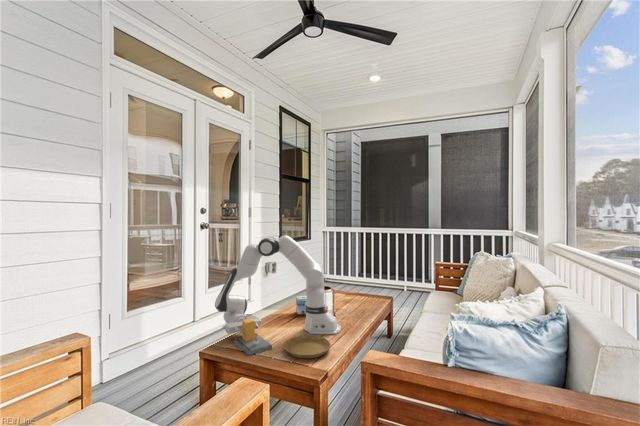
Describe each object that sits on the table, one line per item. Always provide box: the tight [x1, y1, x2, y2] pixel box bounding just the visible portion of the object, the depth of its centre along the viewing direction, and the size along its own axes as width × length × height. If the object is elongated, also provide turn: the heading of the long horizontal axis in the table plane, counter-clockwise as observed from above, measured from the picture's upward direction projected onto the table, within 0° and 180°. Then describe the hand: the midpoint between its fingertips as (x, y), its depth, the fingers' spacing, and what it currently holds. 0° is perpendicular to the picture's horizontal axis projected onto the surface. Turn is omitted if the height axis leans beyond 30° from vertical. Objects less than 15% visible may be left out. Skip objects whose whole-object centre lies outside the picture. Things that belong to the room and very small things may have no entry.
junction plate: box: [233, 332, 273, 356], centre depth 172 cm, size 19×13×8 cm
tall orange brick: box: [241, 319, 256, 342], centre depth 176 cm, size 5×5×10 cm
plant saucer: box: [283, 335, 331, 359], centre depth 166 cm, size 24×24×3 cm
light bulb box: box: [295, 295, 306, 315], centre depth 227 cm, size 11×7×11 cm, turn 105°
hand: (249, 329), depth 175 cm, fingers open, 8 cm apart
